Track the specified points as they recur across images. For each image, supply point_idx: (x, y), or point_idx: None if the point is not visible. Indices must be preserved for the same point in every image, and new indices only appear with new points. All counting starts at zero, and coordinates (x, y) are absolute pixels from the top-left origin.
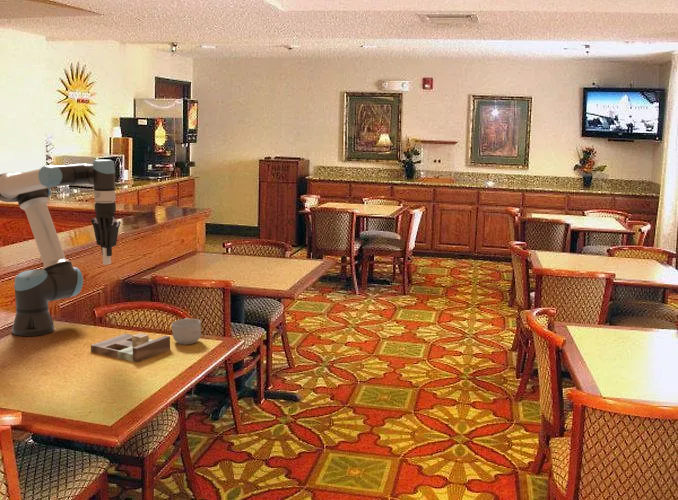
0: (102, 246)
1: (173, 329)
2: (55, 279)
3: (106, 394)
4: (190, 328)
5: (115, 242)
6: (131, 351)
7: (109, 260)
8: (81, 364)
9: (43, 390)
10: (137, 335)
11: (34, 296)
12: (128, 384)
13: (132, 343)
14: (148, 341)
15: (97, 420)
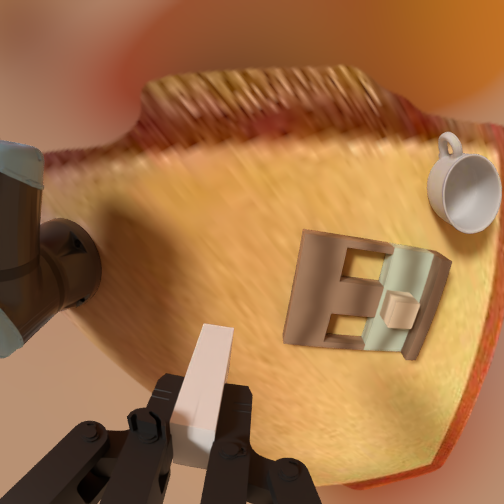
0: (169, 468)
1: (449, 223)
2: (3, 269)
3: (404, 436)
4: (488, 220)
5: (312, 500)
6: (391, 339)
7: (229, 359)
8: (311, 389)
9: (322, 459)
10: (398, 320)
11: (38, 326)
12: (421, 408)
13: (382, 317)
14: (413, 297)
15: (416, 465)
